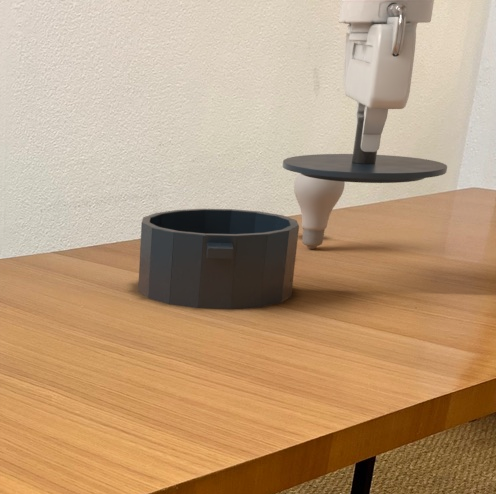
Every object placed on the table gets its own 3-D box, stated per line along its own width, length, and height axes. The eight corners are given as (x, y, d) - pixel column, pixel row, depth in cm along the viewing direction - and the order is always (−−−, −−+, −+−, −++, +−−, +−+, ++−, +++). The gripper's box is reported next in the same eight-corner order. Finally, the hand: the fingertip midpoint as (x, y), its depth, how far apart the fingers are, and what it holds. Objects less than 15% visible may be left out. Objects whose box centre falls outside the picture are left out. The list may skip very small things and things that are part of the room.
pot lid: (428, 166, 118) (437, 112, 116) (461, 187, 103) (472, 126, 101) (276, 163, 121) (282, 110, 119) (287, 183, 106) (294, 124, 104)
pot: (281, 283, 119) (289, 206, 115) (296, 332, 100) (307, 242, 97) (142, 279, 122) (146, 203, 118) (132, 326, 103) (137, 238, 99)
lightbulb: (292, 242, 140) (302, 156, 135) (339, 246, 138) (351, 158, 133) (282, 251, 135) (292, 162, 130) (331, 255, 133) (343, 164, 128)
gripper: (441, 2, 95) (415, 161, 101) (402, 5, 114) (382, 139, 120) (368, 3, 97) (347, 160, 102) (341, 5, 115) (324, 139, 121)
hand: (365, 149), depth 111 cm, fingers closed on pot lid, 2 cm apart
